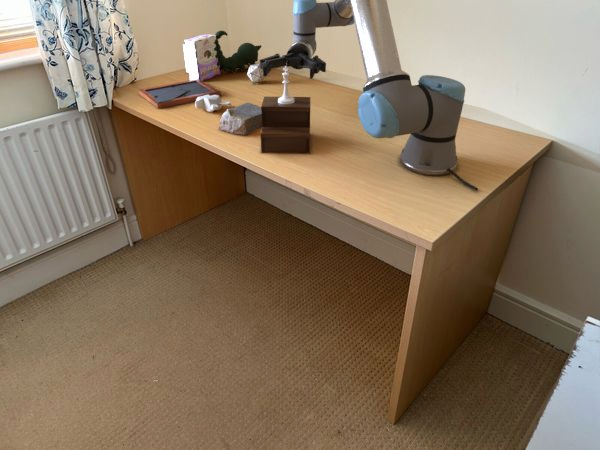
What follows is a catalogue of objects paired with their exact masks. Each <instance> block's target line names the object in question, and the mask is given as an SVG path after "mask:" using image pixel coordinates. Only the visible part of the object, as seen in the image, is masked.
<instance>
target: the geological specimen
mask: <svg viewBox="0 0 600 450" xmlns="http://www.w3.org/2000/svg"><path fill="white" fill-rule="evenodd" d="M218 129H219V130H220V131H223V132H226V133H230V134H234V135H235V134H236V135H242V136H246V135H248V134H251V133H253V132H257V131H259V130H262V113H261V106H260V105H257V104H253V103H251V102H245V103H242V104H239V105H237V106H234V107H231V108H227V109H226V110H225V111H224V112H223V113H222V115H221V117H220V120H219V125H218Z"/></svg>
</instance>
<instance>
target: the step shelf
mask: <svg viewBox="0 0 600 450" xmlns="http://www.w3.org/2000/svg"><path fill="white" fill-rule="evenodd" d="M280 97H281V96H263V99H262V103H261V106H260V107H261V113H262V128H261V129H260V135H259V136H260V151H261V154H308V155H309V154H310V152H311V151H310V147H311V96H292V97H293V98H294V101H295V102H294V103H292V104H280V103H278V98H280Z"/></svg>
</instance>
